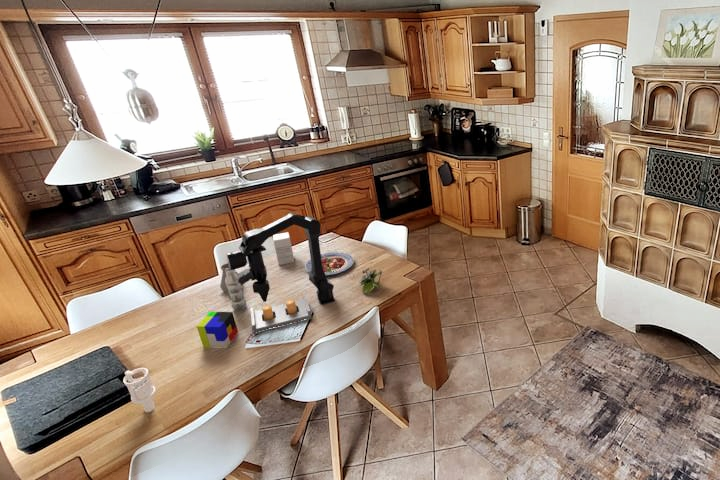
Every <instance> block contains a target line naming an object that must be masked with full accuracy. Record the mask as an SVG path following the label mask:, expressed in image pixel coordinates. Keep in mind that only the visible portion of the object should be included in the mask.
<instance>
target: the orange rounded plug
mask: <svg viewBox="0 0 720 480" xmlns="http://www.w3.org/2000/svg"><path fill="white" fill-rule="evenodd" d="M272 307H273V306H271V305H266V306H263V307H262V308H261V309H262V311H263V315H264V318H263V321H267V320H271V319H274V318H275V315H273V311H272Z"/></svg>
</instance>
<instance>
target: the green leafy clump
mask: <svg viewBox="0 0 720 480" xmlns="http://www.w3.org/2000/svg"><path fill="white" fill-rule="evenodd" d="M369 270H370V268H365V269H364V270H362V274H363V276H361V277H360V280H359V282H358V284H360V286H362V290H361V291H362V293H363V294H367V293H371V292H372V291H373V289H375V287H376V288H378V289H382V286H381V285H380V284H381V283H380V281H381V278H382V277H381V276H382V273H383V271H382V270H378V271H377V270H376V269H372V270H370V271H369ZM368 271H369V272H368ZM364 274H365V275H364ZM377 276H379V278H378V281H375V280H376V277H377Z"/></svg>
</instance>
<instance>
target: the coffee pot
mask: <svg viewBox="0 0 720 480" xmlns="http://www.w3.org/2000/svg"><path fill="white" fill-rule="evenodd" d="M228 268H229V265H228V262H227V263H224V264H222V265H221V266H220V269H221V270H222V273H221V274H222V275H221V281H220V285H219V286H220V288H221V290H222V291H224V292H226V293H229V290H228V288H227V286H226V284H225V279H226V276H227V275H226V269H228ZM235 274H239V272H237V269H235ZM243 286H244V284H243V285H241V288H242V287H243ZM229 294H230V293H229Z"/></svg>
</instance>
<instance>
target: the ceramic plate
mask: <svg viewBox="0 0 720 480" xmlns="http://www.w3.org/2000/svg"><path fill="white" fill-rule="evenodd" d="M321 260H322V268H323V270H324V272H325V274H326V276H330V275H331V276H332V275H336V274H339V273H342V272H344V271H346V270H348V269H350V268H351V267H352V265H354V262H355V259H354V257H353V256H352V255H351V254H349V253H346V252H341V251H340V252H339V251H334V252H333V251H332V252H325V253H321ZM345 261H346V266H345V267H344V268H342V269H341V270H339V271H336V270H335V269H339V268H341V267H342V266H343V265H344V263H345ZM304 268H305V270H306V272H307V273H308V272H310V271H311V270H312V264H311V258H309V260H307V262H305V265H304ZM331 270H335V271H336V272H334V271H333V272H332V271H331Z"/></svg>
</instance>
